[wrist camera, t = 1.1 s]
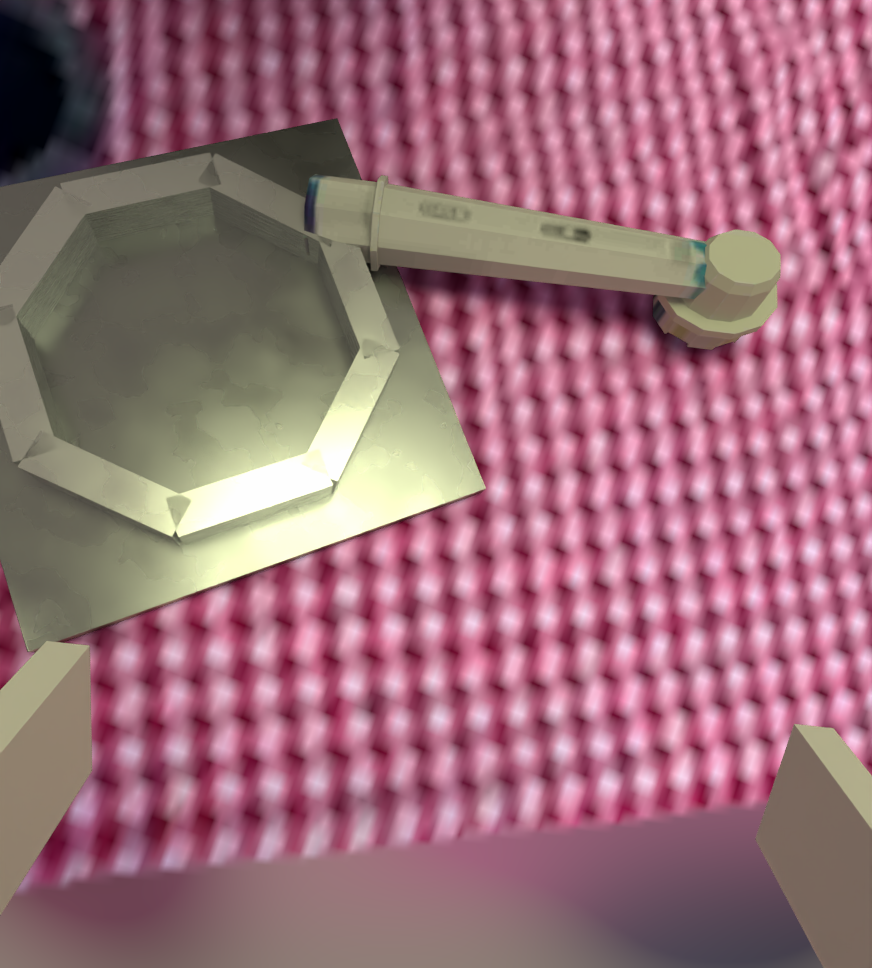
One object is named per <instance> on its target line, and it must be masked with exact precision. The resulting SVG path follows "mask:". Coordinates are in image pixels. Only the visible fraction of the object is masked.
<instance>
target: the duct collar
mask: <svg viewBox="0 0 872 968" xmlns="http://www.w3.org/2000/svg"><path fill="white" fill-rule="evenodd" d="M315 174H317V175H325V176H333V177H341V178H348V179H356V180H362V179H361V177H360V174H359V172H358V169H357V167H356V164H355V162H354V159H353V157H352V154H351V152H350V149H349V147H348V144H347V142H346V139H345V137H344V134H343V132H342V129H341V127H340V124H339V122H338V119H332V120H327V121H322V122H317V123H312V124H307V125H302V126H297V127H293V128H288V129H283V130H278V131H273V132H268V133H263V134H258V135H253V136H248V137H244V138H239V139H234V140H229V141H224V142H219V143H214V144H209V145H204V146H199V147H194V148H190V149H185V150H180V151H175V152H170V153H165V154H160V155H155V156H150V157H145V158H140V159H136V160H131V161H126V162H121V163H116V164H111V165H106V166H101V167H96V168H91V169H86V170H82V171H77V172H72V173H67V174H62V175H57V176H52V177H47V178H42V179H37V180H32V181H28V182H23V183H18V184H13V185H8V186H3V187H0V560H1V564H2V567H3V570H4V574H5V577H6V580H7V584H8V587H9V591H10V594H11V597H12V601H13V604H14V608H15V611H16V614H17V618H18V621H19V624H20V628H21V631H22V635H23V638H24V641H25V645H26V648H27V652H37V651H38V650H39V649H40V647H41V646H42V645H43V644H44V643H45V642H46V641H52V642H61V643H62V642H65V641H68V640H70V639H73V638H76V637H79V636H82V635H84V634H87V633H90V632H93V631H96V630H98V629H101V628H104V627H107V626H110V625H112V624H115V623H118V622H121V621H124V620H126V619H129V618H132V617H135V616H138V615H140V614H143V613H146V612H149V611H152V610H154V609H157V608H160V607H163V606H166V605H168V604H171V603H174V602H177V601H180V600H182V599H185V598H188V597H191V596H194V595H196V594H199V593H202V592H205V591H208V590H210V589H213V588H216V587H219V586H222V585H224V584H227V583H230V582H233V581H236V580H238V579H241V578H244V577H247V576H250V575H252V574H255V573H258V572H261V571H264V570H266V569H269V568H272V567H275V566H278V565H280V564H283V563H286V562H289V561H292V560H294V559H297V558H300V557H303V556H305V555H308V554H311V553H314V552H317V551H319V550H322V549H325V548H328V547H331V546H333V545H336V544H339V543H342V542H345V541H347V540H350V539H353V538H356V537H359V536H361V535H364V534H367V533H370V532H373V531H375V530H378V529H381V528H384V527H387V526H389V525H392V524H395V523H398V522H401V521H403V520H406V519H409V518H412V517H415V516H417V515H420V514H423V513H426V512H429V511H431V510H434V509H437V508H440V507H443V506H445V505H448V504H451V503H454V502H457V501H459V500H462V499H465V498H468V497H471V496H473V495H476V494H479V493H481V492H482V491H484V490H485V489H486V488H485V485H484V483H483V480H482V478H481V475H480V473H479V470H478V468H477V465H476V463H475V460H474V458H473V455H472V453H471V451H470V448H469V446H468V443H467V441H466V438H465V436H464V433H463V431H462V428H461V426H460V423H459V421H458V418H457V416H456V413H455V411H454V408H453V406H452V403H451V401H450V398H449V396H448V393H447V391H446V388H445V386H444V383H443V381H442V378H441V376H440V373H439V371H438V368H437V366H436V363H435V361H434V358H433V356H432V353H431V351H430V348H429V346H428V343H427V341H426V338H425V336H424V334H423V331H422V329H421V326H420V324H419V321H418V319H417V316H416V314H415V311H414V309H413V306H412V304H411V301H410V299H409V296H408V294H407V291H406V289H405V286H404V284H403V281H402V279H401V276H400V274H399V271H398V269H397V266H390V265H381V264H380V267H379V269H378V271H371V263H366V262H365V260H364V257H363V254H362V252H361V249H360V247H359V246H355V245H350V244H346V243H341V242H337V241H334V240H331V239H328V238H325V237H322V236H319V235H316V234H313V233H310V232H307V231H304V205H305V199H306V194H307V188H308V183H309V178H310V177H312V176H313V175H315ZM304 236H305V237H307V238H308V243H309V253H310V255H307V253H306V248H305V242H304Z"/></svg>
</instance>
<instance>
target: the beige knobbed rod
mask: <svg viewBox="0 0 872 968" xmlns="http://www.w3.org/2000/svg"><path fill="white" fill-rule="evenodd" d="M304 231H307V232H310V233H313V234H316V235H319V236H322V237H325V238H328V239H331V240H334V241H337V242H341V243H346V244H350V245H355V246H359V247H360V249H361V252H362V254H363V257H364V260H365V262H366V263H371V271H378V269H379V267H380V264H381V265H390V266H399V267H408V268H417V269H426V270H435V271H444V272H453V273H462V274H471V275H480V276H489V277H498V278H507V279H516V280H525V281H534V282H543V283H552V284H561V285H570V286H580V287H589V288H598V289H607V290H616V291H625V292H634V293H643V294H652V295H654V297H653V317H654V318H655V320H656V321H657V323H658V324H659V326H660V327H661V329H662V330H663V332H664V333H665V334H666V333H668V332H669V333H671V334H672V335H674V336H676V337H678V338H679V339H681V340H683V341H685V342H686V343H687V347H693V348H701V349H709V350H713V349H714V348H715V347H717V346H720V345H724V344H727V343H730V342H734V343H735V342H736V341H737V340H738V339H739V338H740V337H741V336H743V335H746V334H749V333H753V332H756V331H757V330H758V329H759V328H760V327H761V326H762V325H763V324H764V323H765V321H766V320H767V319H768V318H769V317H770V315H771V314H772V313H773V312H774V310H775V309H776V308H777V284H776V283H777V281H778V280H779V278H780V253H779V252H778V251H777V249H776V248H775V247H774V245H773V244H772V242H771V241H769V240H768V239H766V238H764V237H762V236H760V235H759V234H757V233H755V232H750V231H742V230H733V231H729V232H726V233H722V234H719V235H716V236H714V237H711V238H709V239H708V240H707V241H706V242H705V241H699V240H694V239H688V238H683V237H677V236H672V235H666V234H661V233H655V232H650V231H645V230H639V229H634V228H628V227H623V226H617V225H612V224H606V223H601V222H595V221H590V220H584V219H579V218H573V217H568V216H562V215H557V214H551V213H546V212H540V211H535V210H529V209H524V208H518V207H513V206H507V205H502V204H496V203H491V202H485V201H480V200H475V199H469V198H464V197H458V196H453V195H447V194H442V193H436V192H431V191H425V190H420V189H414V188H409V187H403V186H398V185H392V184H388V176H383V175H381V177H380V178H379V179H378V181H377V182H371V181H364V180H356V179H348V178H341V177H333V176H325V175H317V174H315V175H313V176H312V177H310V178H309V183H308V188H307V194H306V199H305V205H304ZM304 242H305V248H306V253H307V255H310V253H309V243H308V238H307V237H305V236H304Z"/></svg>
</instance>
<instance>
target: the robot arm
mask: <svg viewBox="0 0 872 968" xmlns="http://www.w3.org/2000/svg"><path fill="white" fill-rule="evenodd" d="M91 771H92V739H91V686H90V646H88V645H79V644H70V643H61V642H52V641H46V642H45V643H44V644H43V645H42V646H41V647H40V649H39V650H38V651H37V652H36V653H35V654H34V655H33V656H32V657H31V658H30V659H29V660H28V661H27V662H26V663H25V664H24V665H23V667H22V668H21V669H20V670H19V671H18V672H17V673H16V674H15V675H14V676H13V677H12V678H11V679H10V680H9V681H8V682H7V683H6V685H5V686H4V687H3V688H2V689H1V690H0V915H1V914H2V912H3V910H4V909H5V907H6V906H7V904H8V903H9V901H10V899H11V898H12V896H13V895H14V893H15V892H16V890H17V889H18V887H19V885H20V884H21V882H22V881H23V879H24V877H25V876H26V874H27V873H28V871H29V870H30V868H31V866H32V865H33V863H34V862H35V860H36V858H37V857H38V855H39V854H40V852H41V851H42V849H43V847H44V846H45V844H46V843H47V841H48V839H49V838H50V836H51V835H52V833H53V832H54V830H55V828H56V827H57V825H58V824H59V822H60V820H61V819H62V817H63V816H64V814H65V813H66V811H67V809H68V808H69V806H70V805H71V803H72V801H73V800H74V798H75V797H76V795H77V794H78V792H79V790H80V789H81V787H82V786H83V784H84V783H85V781H86V779H87V778H88V776H89V775H90V773H91ZM755 840H756V842H757V843H758V845H759V847H760V849H761V851H762V853H763V855H764V857H765V858H766V860H767V862H768V864H769V866H770V868H771V870H772V872H773V874H774V876H775V877H776V879H777V881H778V883H779V885H780V887H781V889H782V890H783V892H784V894H785V896H786V898H787V900H788V902H789V904H790V906H791V907H792V909H793V911H794V913H795V915H796V917H797V918H798V921H799V922H800V924H801V926H802V928H803V930H804V932H805V934H806V936H807V937H808V939H809V941H810V943H811V945H812V947H813V949H814V951H815V952H816V954H817V956H818V958H819V960H820V962H821V964H822V966H823V968H872V776H871V774H870V773H869V772H868V771H867V769H866V768H865V767H864V766H863V764H862V763H861V762H860V761H859V759H858V758H857V757H856V756H855V754H854V753H853V752H852V751H851V750H850V748H849V747H848V746H847V745H846V743H845V742H844V741H843V740H842V738H841V737H840V736H839V735H838V733H837V732H836V731H835V730H834V729H833V728H825V727H816V726H807V725H798V724H794V726H793V729H792V732H791V735H790V738H789V741H788V744H787V747H786V750H785V753H784V756H783V759H782V762H781V764H780V767H779V770H778V773H777V776H776V779H775V782H774V785H773V788H772V791H771V794H770V797H769V800H768V803H767V806H766V809H765V812H764V815H763V818H762V821H761V824H760V826H759V829H758V832H757V835H756V839H755Z"/></svg>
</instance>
